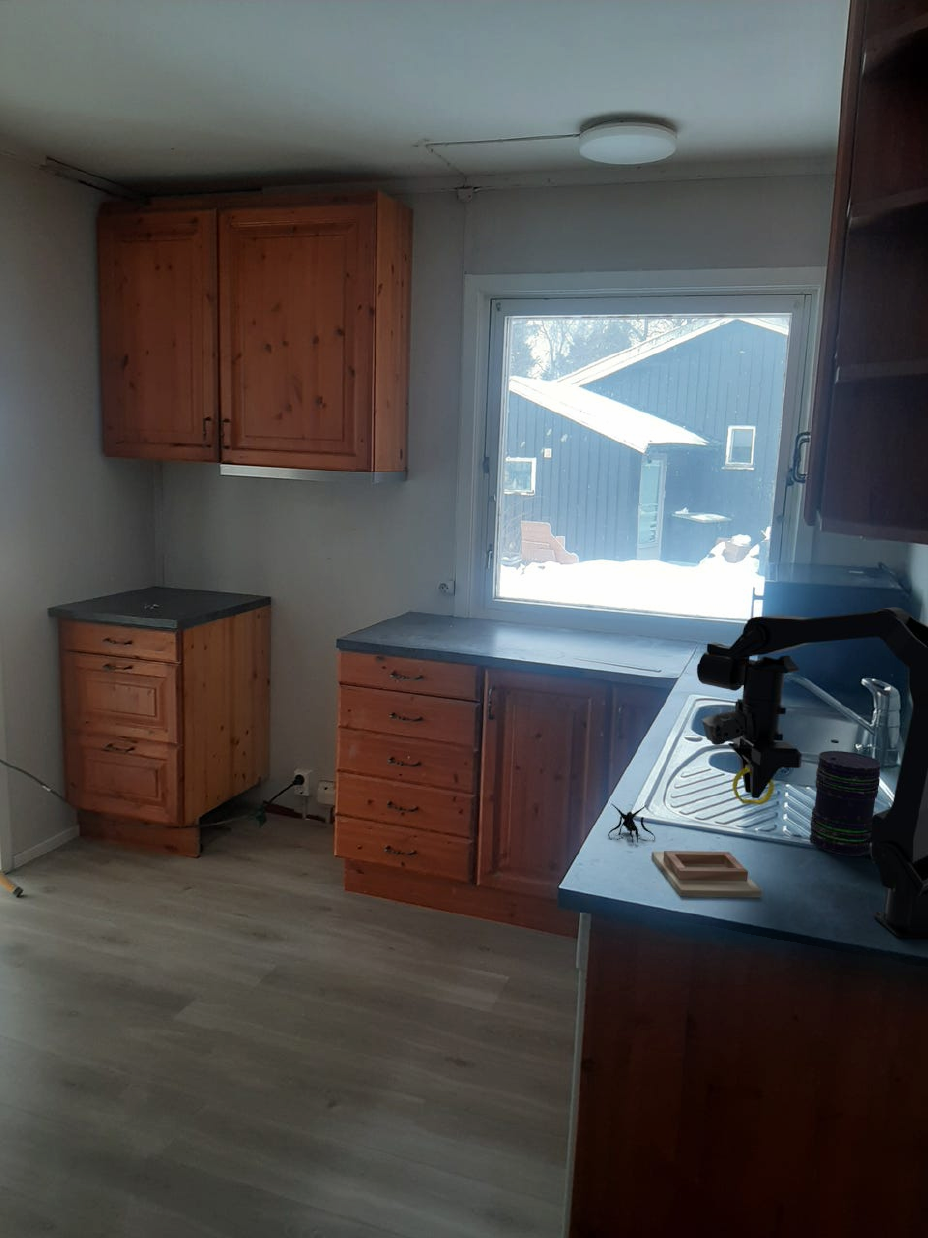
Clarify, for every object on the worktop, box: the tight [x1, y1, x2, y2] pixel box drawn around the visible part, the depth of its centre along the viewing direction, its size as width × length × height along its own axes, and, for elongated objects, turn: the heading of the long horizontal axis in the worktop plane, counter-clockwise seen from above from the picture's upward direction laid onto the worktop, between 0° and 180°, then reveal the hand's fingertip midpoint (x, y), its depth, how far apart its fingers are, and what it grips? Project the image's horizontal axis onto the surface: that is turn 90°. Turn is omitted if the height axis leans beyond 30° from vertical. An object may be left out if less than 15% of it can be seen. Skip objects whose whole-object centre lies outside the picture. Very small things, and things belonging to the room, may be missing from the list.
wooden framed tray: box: [650, 850, 763, 898], centre depth 141 cm, size 14×12×2 cm
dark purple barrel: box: [809, 739, 882, 857], centre depth 157 cm, size 10×10×18 cm
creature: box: [608, 803, 656, 844], centre depth 156 cm, size 8×5×8 cm
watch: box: [732, 764, 775, 806], centre depth 145 cm, size 6×3×6 cm, turn 87°
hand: (752, 795), depth 145 cm, fingers closed on watch, 2 cm apart
